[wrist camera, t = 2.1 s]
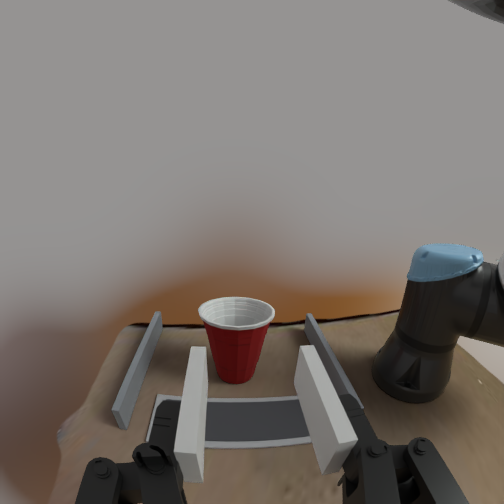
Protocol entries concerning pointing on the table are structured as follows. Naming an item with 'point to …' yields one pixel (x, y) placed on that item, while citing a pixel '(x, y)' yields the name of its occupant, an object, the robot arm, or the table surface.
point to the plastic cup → (236, 334)
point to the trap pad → (250, 422)
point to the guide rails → (147, 346)
